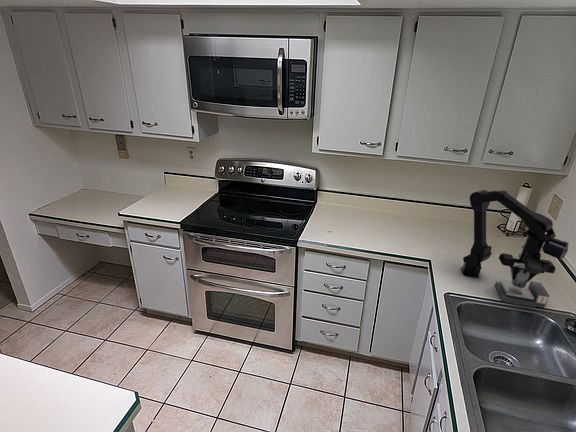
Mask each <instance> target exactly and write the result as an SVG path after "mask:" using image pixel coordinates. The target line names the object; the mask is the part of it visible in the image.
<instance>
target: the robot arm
mask: <svg viewBox="0 0 576 432" xmlns="http://www.w3.org/2000/svg"><path fill="white" fill-rule="evenodd" d="M492 202H498V203H499V204H501V205H502V206H504V207H505V208H507V209H508V210H509V211H510V212H511V213H513V214H514V215H515V216H517V217H518V218H519V219H521V221H523V223H524V225H525V227H527V228H528V229H526V230H525V231H522V235H525V236H527V237H526V240H525V243H524V245H522V247H521V248H522V250H521V253H519V254H518V258H517V257H514V256H513V255H512V254H510V253H500V255H499V257H498V260H499V261H500V263H501V265H503V266H505V267H509V268H510V274H511V281H512V280H514V278H515V275H516V272H517V270H518V269H519V268H518V265H520V264H523V265H525V270H526V272H528V273H530V276H529V278H528V281H527V283H530V281H532V279H533V278H534V277H536V276H537V275H539V274H545V273H548V274H554V273H555V272H556V269H557V268H556V266H555V265H554V264H553V263H552V261H551V260H549V259H548V260H547V259H542V258H541V257H542V254H541V252H543V253H544V254H546V255H547V256H550V257H553V258H555V259H558V260H561V261H562V260H563V259H564V258H565V256H566V255H567V253H568V252H569V244H570V243H569V242H567V241H563V240H561V239H558V238H556V234H555V231H554V229H553V221H552V219H550V217H547V216H545V215H543V214H541V213H537V212H535V211H533V210H532V209H530V208H528V207H527V206H526V205H524V204H523V203H521V202H520V201H519V200H517V199H516V198H515V197H513V196H512V195H510V194H509V193H508V191H506V190H504V189H501V190H493V191H491V190H489V191H488V190H486V189H481V190H477V191H474V192H471V194H470V196H469V204H470V207H471V209H472V211H473V244H472V247H471V249H470V252H469V254H468V255H465V256H463V257H462V259H463V265H462V267H460V268H461V273H462V275H464V276H466V277H471V278H472V277H473V278H479V275H480V273H481V272H482V271H481V270H482V263H483V262H485V261H487V260H489V259H490V257H491V256H492V255H493V254H492V253H493V252H492V245H488V243H487V211H488V209H489V206H490V203H492ZM541 249H542V250H541Z"/></svg>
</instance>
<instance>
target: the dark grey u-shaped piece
mask: <svg viewBox="0 0 576 432" xmlns="http://www.w3.org/2000/svg"><path fill="white" fill-rule="evenodd" d="M527 286H528V288H529V289H530V291H531V293H532V294H533V296H534V300H533V299H527V298H522V297H516V296H511V295H506V293H505V291H504V289H503V287H502V285H501V283H500V281H495V284H494V287H495V289H496V292H497V293H498V296H499V298H500V300H501V302H502V303H507V304H512V305H517V306H521V307H528V308H533V309H535V308H536V307H539V308H545V307H546V304H547V302H548V300H549V298H550V294H549V292H548V291H547V290H546V288H545V286H544V285H543V284H542V282H538V281H532V280H530V281H529V284H528V285H527Z"/></svg>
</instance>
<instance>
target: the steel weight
mask: <svg viewBox="0 0 576 432" xmlns="http://www.w3.org/2000/svg"><path fill="white" fill-rule="evenodd" d="M518 268H519V269H518V270H517V272H516V275H515V278H514V280H512V279H511V281H512V282H511V283H512V284H513V285H514V286H516V287H519V288H524V287H525V286H526V284H528V282H527V281H528V278H529V276H530V273H528V272H526V270H525V265H520V264H518Z"/></svg>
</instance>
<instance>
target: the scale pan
mask: <svg viewBox="0 0 576 432" xmlns="http://www.w3.org/2000/svg"><path fill="white" fill-rule="evenodd" d="M499 282H500V283H501V285H502V287H503V289H504V291H505V293H506V295H511V296H516V297H522V298H527V299H533V300H534V296H533V294H532V293H531V291H530V289H529V288H528V286H529V285H527V284H528V283H526V286H525V287H524V288H519V287H516V286H514V285H513V284H512V283H511V282H512V280H508V279H507V280H506V279H500V280H499Z"/></svg>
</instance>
